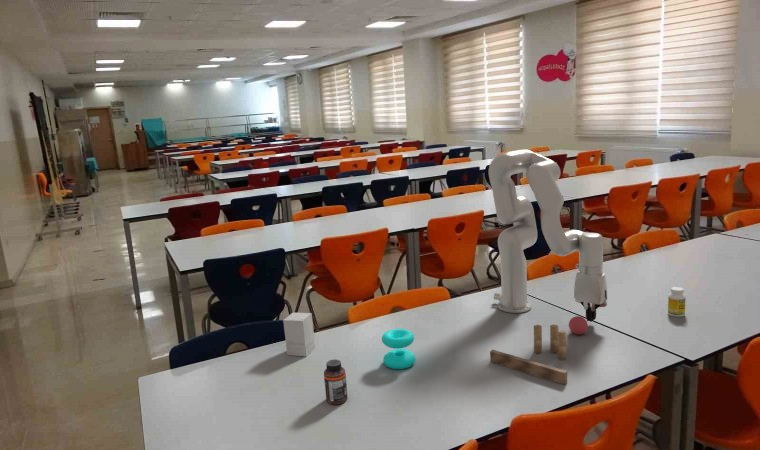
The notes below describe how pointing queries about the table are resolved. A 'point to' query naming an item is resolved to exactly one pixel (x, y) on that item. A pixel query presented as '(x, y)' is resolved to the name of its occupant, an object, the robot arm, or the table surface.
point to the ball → (578, 325)
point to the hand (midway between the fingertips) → (590, 320)
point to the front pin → (554, 338)
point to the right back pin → (562, 345)
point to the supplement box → (299, 334)
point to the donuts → (398, 356)
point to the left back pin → (537, 338)
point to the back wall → (529, 367)
